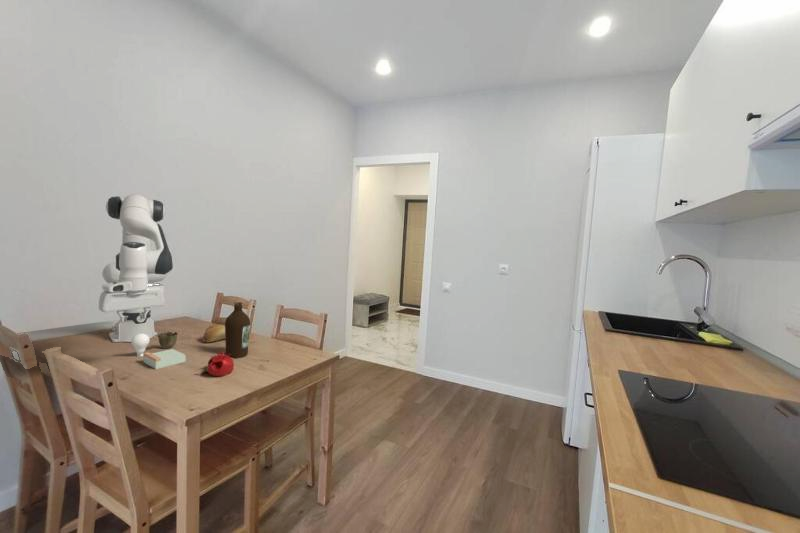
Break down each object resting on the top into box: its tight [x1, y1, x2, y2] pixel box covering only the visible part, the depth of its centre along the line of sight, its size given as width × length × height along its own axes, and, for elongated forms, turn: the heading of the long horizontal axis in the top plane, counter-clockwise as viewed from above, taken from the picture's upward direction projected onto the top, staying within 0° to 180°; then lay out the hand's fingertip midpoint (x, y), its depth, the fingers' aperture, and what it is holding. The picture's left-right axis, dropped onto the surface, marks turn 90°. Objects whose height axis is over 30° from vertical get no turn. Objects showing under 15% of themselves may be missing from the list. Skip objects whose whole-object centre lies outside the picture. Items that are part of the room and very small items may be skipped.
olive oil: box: [224, 301, 251, 359], centre depth 157 cm, size 11×11×25 cm
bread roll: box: [203, 324, 225, 343], centre depth 177 cm, size 10×15×8 cm, turn 157°
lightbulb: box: [130, 333, 151, 357], centre depth 146 cm, size 6×6×11 cm
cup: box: [157, 331, 178, 350], centre depth 158 cm, size 8×7×8 cm
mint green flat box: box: [143, 348, 187, 370], centre depth 141 cm, size 11×11×4 cm
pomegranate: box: [206, 350, 235, 377], centre depth 137 cm, size 10×10×9 cm
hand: (133, 320), depth 130 cm, fingers open, 5 cm apart
